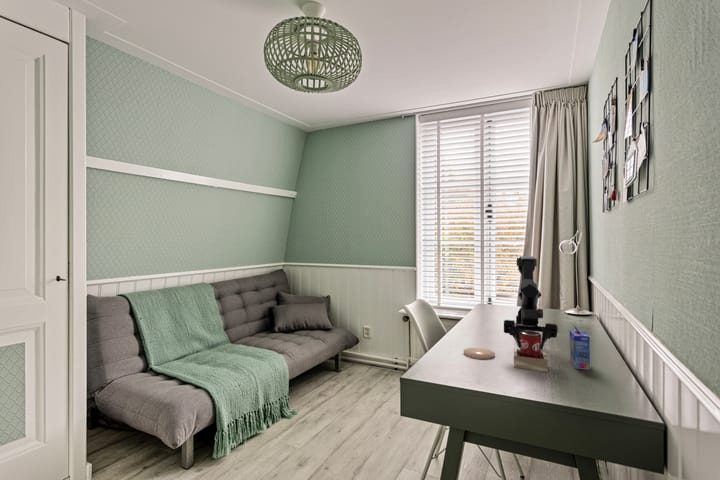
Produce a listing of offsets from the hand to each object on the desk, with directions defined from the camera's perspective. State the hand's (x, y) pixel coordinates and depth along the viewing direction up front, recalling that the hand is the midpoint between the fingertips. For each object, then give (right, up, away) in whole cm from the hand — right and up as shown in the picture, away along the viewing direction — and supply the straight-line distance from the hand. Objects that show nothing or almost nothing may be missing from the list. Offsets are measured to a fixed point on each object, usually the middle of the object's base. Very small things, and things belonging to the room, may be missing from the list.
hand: (530, 348), depth 143 cm
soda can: (0, -7, +1) cm, 7 cm away
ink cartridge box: (+19, -7, +2) cm, 20 cm away
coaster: (-15, -6, +13) cm, 21 cm away
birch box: (0, -7, +1) cm, 7 cm away
